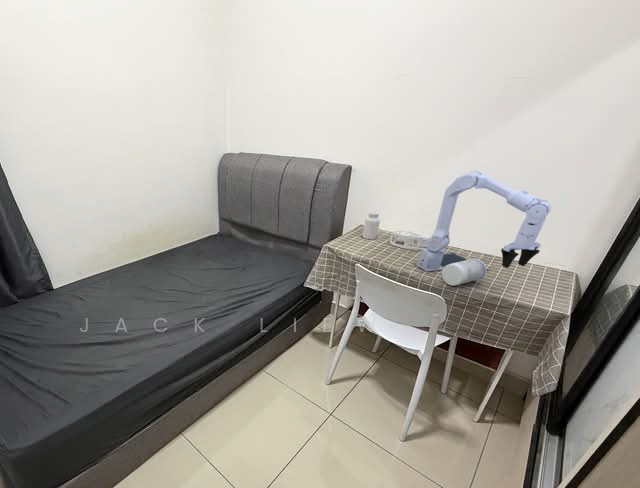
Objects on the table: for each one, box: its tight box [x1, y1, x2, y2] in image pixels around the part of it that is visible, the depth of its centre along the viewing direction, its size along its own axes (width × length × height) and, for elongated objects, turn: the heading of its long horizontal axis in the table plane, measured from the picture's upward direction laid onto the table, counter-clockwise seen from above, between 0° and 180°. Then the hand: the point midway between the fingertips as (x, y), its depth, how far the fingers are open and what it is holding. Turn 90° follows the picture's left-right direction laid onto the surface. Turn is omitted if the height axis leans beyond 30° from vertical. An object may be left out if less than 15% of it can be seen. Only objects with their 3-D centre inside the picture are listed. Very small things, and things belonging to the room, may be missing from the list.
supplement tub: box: [441, 258, 488, 287], centre depth 129 cm, size 10×10×15 cm
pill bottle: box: [362, 211, 381, 240], centre depth 178 cm, size 8×8×15 cm
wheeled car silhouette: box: [389, 229, 432, 251], centre depth 167 cm, size 20×11×7 cm, turn 41°
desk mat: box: [440, 253, 488, 271], centre depth 148 cm, size 16×20×1 cm
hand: (513, 266), depth 121 cm, fingers open, 7 cm apart
